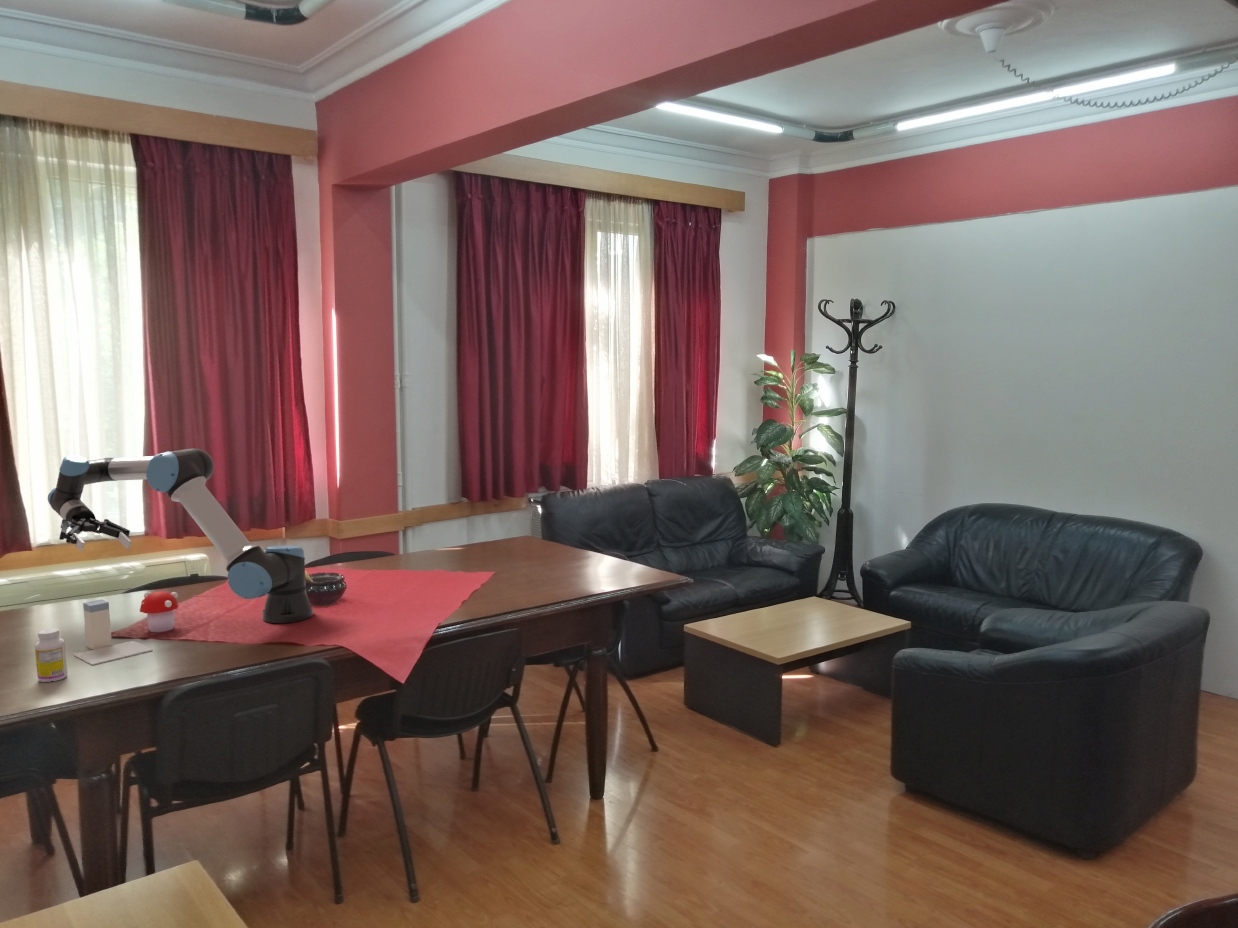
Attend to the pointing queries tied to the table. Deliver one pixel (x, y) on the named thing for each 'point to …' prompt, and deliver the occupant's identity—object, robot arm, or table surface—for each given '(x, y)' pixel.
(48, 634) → the supplement bottle
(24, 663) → the table surface
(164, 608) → the mushroom
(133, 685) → the table surface
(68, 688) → the table surface
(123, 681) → the table surface
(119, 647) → the felt mat
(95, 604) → the cream block
